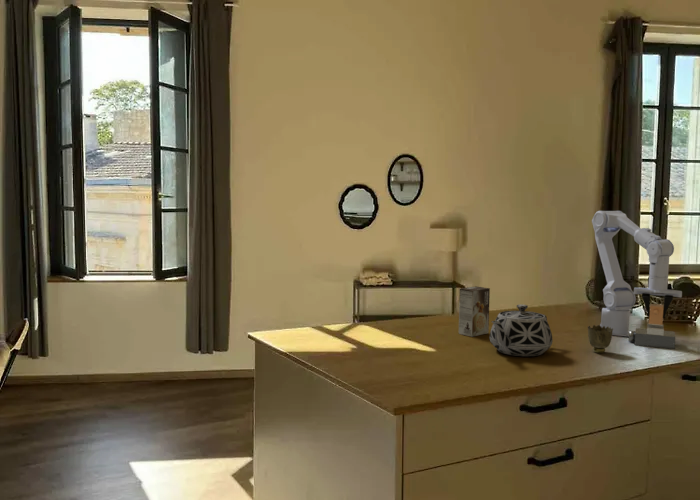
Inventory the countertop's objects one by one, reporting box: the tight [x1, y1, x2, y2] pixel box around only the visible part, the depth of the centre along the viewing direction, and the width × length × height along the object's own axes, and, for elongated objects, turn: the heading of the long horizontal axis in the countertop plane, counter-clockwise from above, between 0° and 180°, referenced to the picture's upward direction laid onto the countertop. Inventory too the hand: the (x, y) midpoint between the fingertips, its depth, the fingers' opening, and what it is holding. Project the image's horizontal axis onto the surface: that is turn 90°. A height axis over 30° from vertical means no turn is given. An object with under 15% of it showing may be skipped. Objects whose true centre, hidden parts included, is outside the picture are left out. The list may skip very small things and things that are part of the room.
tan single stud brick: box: [648, 303, 664, 325], centre depth 233 cm, size 4×6×6 cm
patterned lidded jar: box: [489, 303, 553, 357], centre depth 220 cm, size 19×31×15 cm, turn 135°
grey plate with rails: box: [628, 323, 676, 350], centre depth 235 cm, size 14×9×6 cm, turn 67°
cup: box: [587, 324, 613, 354], centre depth 222 cm, size 8×7×8 cm
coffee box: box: [458, 285, 491, 338], centre depth 246 cm, size 9×6×16 cm
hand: (656, 317), depth 234 cm, fingers closed on tan single stud brick, 4 cm apart
